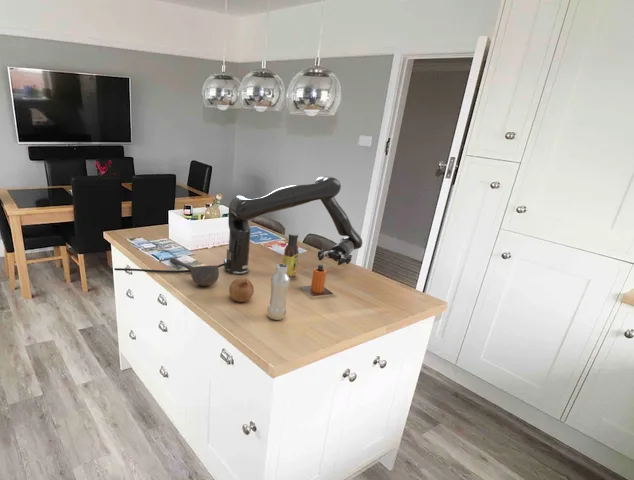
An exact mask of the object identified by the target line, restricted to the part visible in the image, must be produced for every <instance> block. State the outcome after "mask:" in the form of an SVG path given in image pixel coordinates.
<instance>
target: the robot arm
mask: <svg viewBox="0 0 634 480" xmlns="http://www.w3.org/2000/svg"><path fill="white" fill-rule="evenodd" d="M341 189H342V185H341V182H340V180H338V178H335V177H334V176H320V177H318V178H317V179H316V180H315V181H314V182H313V183H309V184H294V185H287V186H284V187H280V188H277V189H275V190H272V191H271V192H270V193H268V194H266V195H264V196H262V197H256V198H247V197H245V196H243V195H237V196H234V197H233V198H232V199H231V200H230V202H229V206H228V223H227V225H228V230H229V235H228V236H229V237H228V248H227V249H226V258H225V259H224V260H223V263H221V264H218V269H219V268H221V267H224V269H225V270H226V271H227V272H228V273H229V275H230V274H232V275H233V274H234V275H244V274H247V273H248V272H249V259H250V258H249V257H250V244H251V231H252V229H251V227H250V224H249V221H250V220H253V219H255V218H258V217H260V216H263V215H266V214H269V213H275V212H279V211H283V210H287V209H291V208H295V207H297V206H301V205H305V204H308V203H311V202H314V201H319V200H320V201H321V203H322V204H323V206H324V207H325V209H326V211H327V213H328V214H329V216H330V218H331V220H332V222H333V224H334V227H335V229H336V231H337V233H338V235H339V236H341V237H343V238H341V239H340V240H339V242H338V243H336V244H335V245H333V246H332V247H331V248H330V250H326V249H325V248H321V249H320V250H319V251H317V258H318V261H320V262H321V261H322V260H324V259H325V260H333V261H334V262H337V266H341V265H343V264H346V265H349V264H350V263H351V262H352V260H353V259H352V258H353V254H351V253H352V252H353V251H355V250H359V249H361V248H362V247H363V238H362V237H361V235H360V234H359V233H358V231H356V229H355V228H354V227H353V224H352V223H351V220H350V219H349V216H348V214H347V213H346V212H345V210H344V209H343V207H341V205H340V204H339V202H338V201H337V199H336V198H335V197H336V196H337V195H338V194H339V193H340V192H341ZM114 271H123V272H125V271H127V272H129V271H130V272H148V273H191V271H190V270H188V269H179V270H178V269H176V270H175V269H173V270H171V269H166V270H165V269H147V268H145V269H144V268H125V267H124V268H122V267H118V268H117V267H115V268H114Z"/></svg>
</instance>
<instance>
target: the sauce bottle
mask: <svg viewBox="0 0 634 480" xmlns="http://www.w3.org/2000/svg"><path fill="white" fill-rule="evenodd" d="M298 238H299V234H298V233H296V232H289V233H288V242H287V245H286V246H285V248H284V254H283V261H282V264H285V265H287V272H286V273H287V274H288V276H289V278H290V279H293V278H295V277H296V275H297V268H298V260H299V254H300V253H299V252H300V251H299V248H298Z"/></svg>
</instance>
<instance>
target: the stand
mask: <svg viewBox="0 0 634 480" xmlns="http://www.w3.org/2000/svg"><path fill="white" fill-rule="evenodd" d="M317 268H318V271H319V272H322V271H323V269H324V265H323V264H318V265H317ZM301 289H303V290H304V291H305V292H307V293H308V294H309V295H310V296H312V297H318V296H329V295H334V293H333V292H332V291H330V290H329V289H328V288H326V287H325V286H324V290H323V292H321V293H316V292H313V291H311V285H304V286H301Z"/></svg>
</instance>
